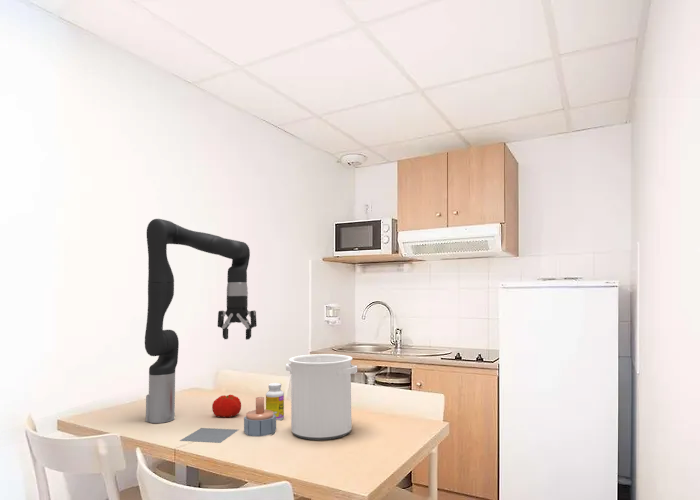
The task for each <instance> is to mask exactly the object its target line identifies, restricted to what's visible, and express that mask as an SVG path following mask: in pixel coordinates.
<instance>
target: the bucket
mask: <svg viewBox="0 0 700 500" xmlns="http://www.w3.org/2000/svg"><path fill="white" fill-rule="evenodd" d="M288 361H289V363H286V364H285V371H287V372H289V374H290V375H291V379H290V381H291V387H290V388H291V389H290V392H291V393H290V394H291V395H290V397H291V398H290V399H291V401H290V403H291V408H290V409H291V410H290V411H291V412H290V414H291V416H290V419H291V433H292V434H293V435H294V436H295V437H297V438H300V439H303V440H308V441H309V440H310V441H326V440H327V441H329V440H335V439H339V438H342V437H346V436H347V435H348V434H350V432H351V431H352V374H353V375H354V374H356V373H358V365H353V364H352V361H353V357H352V356H351V355H347V354H337V353H316V354H315V353H313V354H303V355H302V354H301V355H296V356H293V357H290V358H289V360H288Z"/></svg>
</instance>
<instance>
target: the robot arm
mask: <svg viewBox="0 0 700 500" xmlns="http://www.w3.org/2000/svg"><path fill="white" fill-rule="evenodd" d="M146 242H147V243H146V245H147V254H148V261H147V262H148V263H147V264H148V267H147V268H148V272H147V274H148V276H147V314H146V315H147V316H146V325H145V334H144V348H145V351H146V354H148V355H149V356H151V357H157V360H156V361H154V363H152V365H150V366H149V368H148V394H147V395H145V396H146V397H145V422H148V423H151V424H163V423H168V422H171V421H174V420H175V414H176V413H175V411H176V406H175V405H176V368H177V365H178V360H179V346H180V345H179V337H178V334H177V333H176V331H175V330H172V329H164V328H163V327H164V320H165V319H164V318H165V315H166V313H167V311H168V308H169V306H170V305H171V303H172V300H173V298H174V295H175V277H174V273H173V271H172V270H173V269H172V268H171V265H170V263H169V259H168V255H167V253H168V252H167V250H168V249H167V246H168V245H182V246H187V247H191V248H193V249H195V250H197V251H201V252H204V253H208V254H211V255H216V256H217V255H218V256H221V257H222V258H227V259H229V260H231V261H232V262H231V266H230V267H229V268H228V269H227V284H226V285H227V286H226V310H219V311H218V313H217V327H218V328H221V329H222V338H223V339H224V340H228V339H229V328H230V325H231V324H234V323H237V324H238V323H239V324H240V323H242V325H244V327H245V328H246V329H245V340H250V338H252V329H253V328H255V327H257V311H256V310H248V308H249V307H248V301H249V300H248V298H249V297H248V296H249V295H248V294H249V292H248V289H249V288H248V283H247V282H248V272H247V271H248V267H249V263H250V257H251V256H250V254H251V251H250V247H249V245H248V244H247V243H246V242H244V241H241V240H235V239H231V238H224V237H222V236H219V235H216V234H212V233H206V232H201V231H195V230H191V229H188V228H185V227H183V226H180V225H178V224H176V223H175V222H173V221H170V220H167V219H163V218H162V219H161V218H154V219H152V220H151V221H150V222H148V224H147V227H146ZM225 317H227V318H226V320H225ZM248 317H250V320H249V319H248Z"/></svg>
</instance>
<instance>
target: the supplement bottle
mask: <svg viewBox="0 0 700 500" xmlns="http://www.w3.org/2000/svg"><path fill="white" fill-rule="evenodd" d="M281 389H282V383H279V382H272V383H269V384H268V390H267V391H266V393H265V410H271V411H273V414H274V415H276V421H283V419H284V417H285V402H284V401H285V394H284V391H283V390H281Z"/></svg>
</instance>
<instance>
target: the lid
mask: <svg viewBox="0 0 700 500" xmlns="http://www.w3.org/2000/svg"><path fill="white" fill-rule="evenodd" d="M245 417H246V418H247V419H249V420H266V419H270V418H272V417H273V411H271V410H266V409H265V397H263V396H257V397H255V409H254V410H250V411H248V412H246V413H245Z"/></svg>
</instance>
